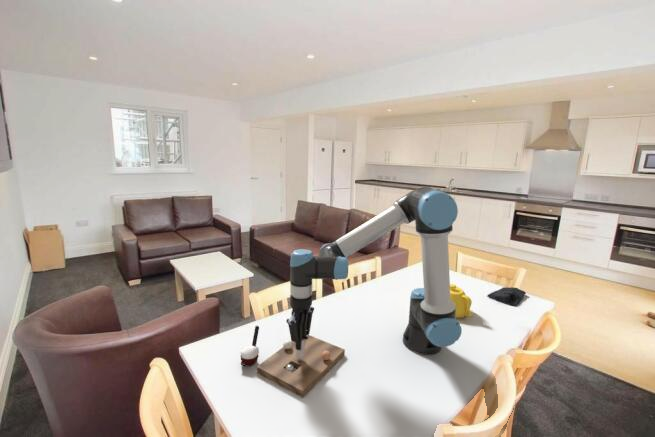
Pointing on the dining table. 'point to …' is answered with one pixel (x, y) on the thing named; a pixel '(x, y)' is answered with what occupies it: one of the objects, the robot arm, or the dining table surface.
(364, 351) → the dining table surface
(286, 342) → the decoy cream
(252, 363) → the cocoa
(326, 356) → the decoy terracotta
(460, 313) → the teapot
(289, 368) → the ball
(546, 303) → the dining table surface
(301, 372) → the board
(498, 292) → the dark slate chunk
